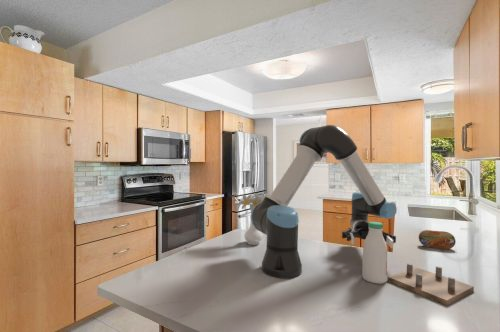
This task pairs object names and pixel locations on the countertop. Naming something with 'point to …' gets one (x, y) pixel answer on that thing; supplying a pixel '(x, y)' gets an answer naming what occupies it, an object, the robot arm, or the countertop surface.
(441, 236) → the tin
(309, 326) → the countertop surface
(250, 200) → the flower vase
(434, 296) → the peg board
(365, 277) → the milk bottle
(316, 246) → the countertop surface
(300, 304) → the countertop surface
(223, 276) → the countertop surface
